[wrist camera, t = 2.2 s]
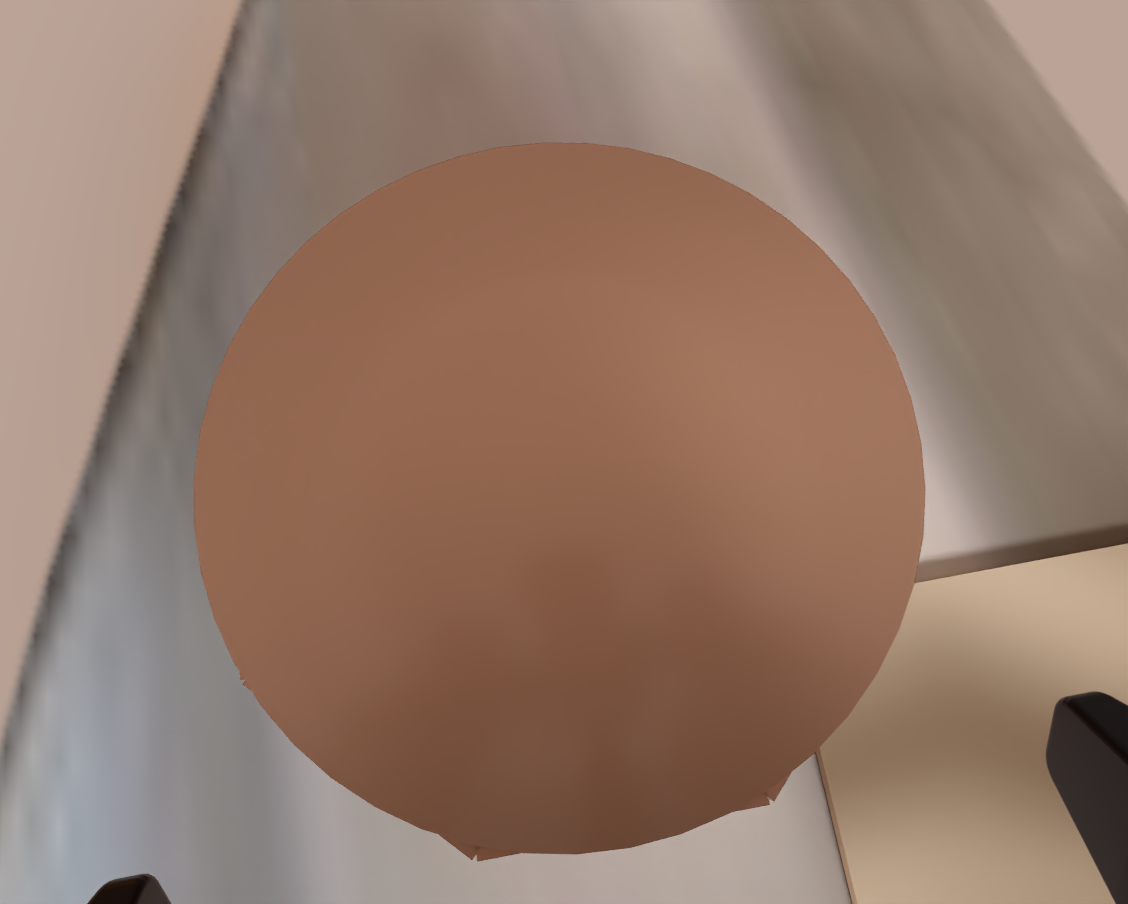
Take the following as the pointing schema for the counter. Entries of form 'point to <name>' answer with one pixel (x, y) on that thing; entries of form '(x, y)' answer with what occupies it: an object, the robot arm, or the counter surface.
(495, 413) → the brown rounded shape
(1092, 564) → the coaster
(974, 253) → the counter surface
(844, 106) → the counter surface
